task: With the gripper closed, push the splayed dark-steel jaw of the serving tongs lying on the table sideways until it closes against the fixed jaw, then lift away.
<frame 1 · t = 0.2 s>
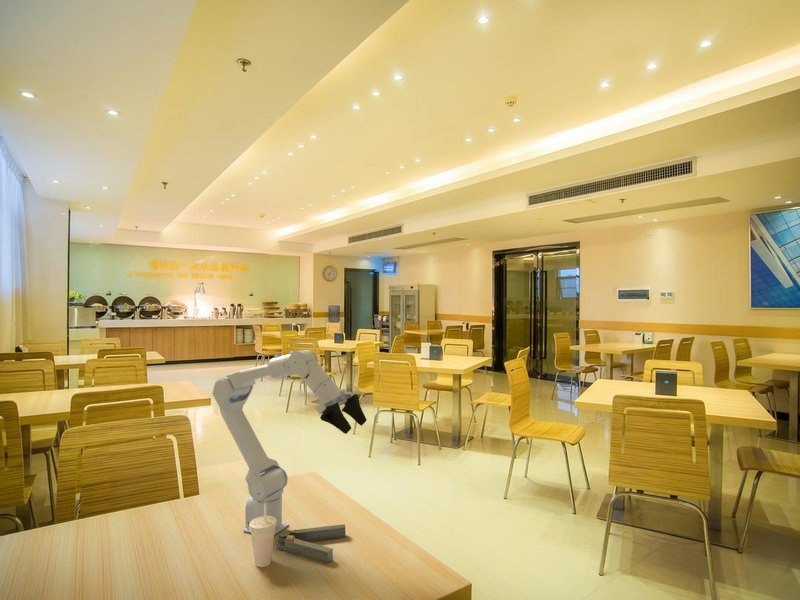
hand: (356, 427, 111), 31 cm above the table, tool tilted 45°, fingers open, 7 cm apart
tongs base: (284, 543, 114), on the table
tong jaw: (312, 534, 116), point 1 cm above the table, hinge at 38.0°
smoothie: (263, 563, 105), on the table
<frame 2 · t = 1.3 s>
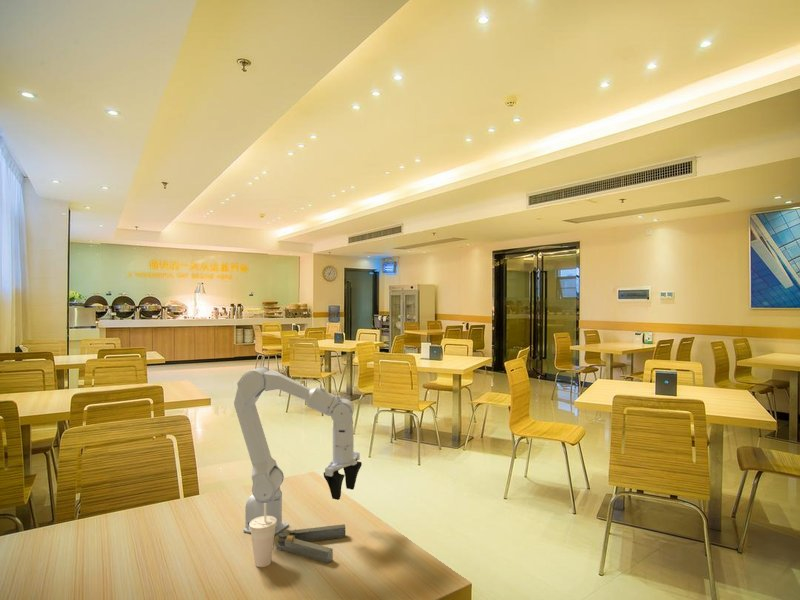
hand: (343, 493, 122), 9 cm above the table, tool pointing down, fingers open, 7 cm apart
nothing on the table moved.
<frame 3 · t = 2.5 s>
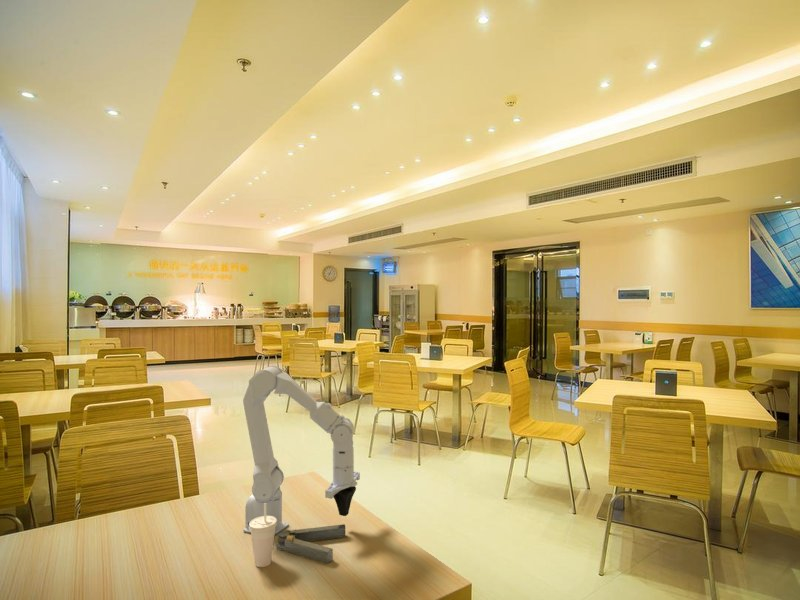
hand: (343, 514, 122), 4 cm above the table, tool pointing down, fingers closed
nothing on the table moved.
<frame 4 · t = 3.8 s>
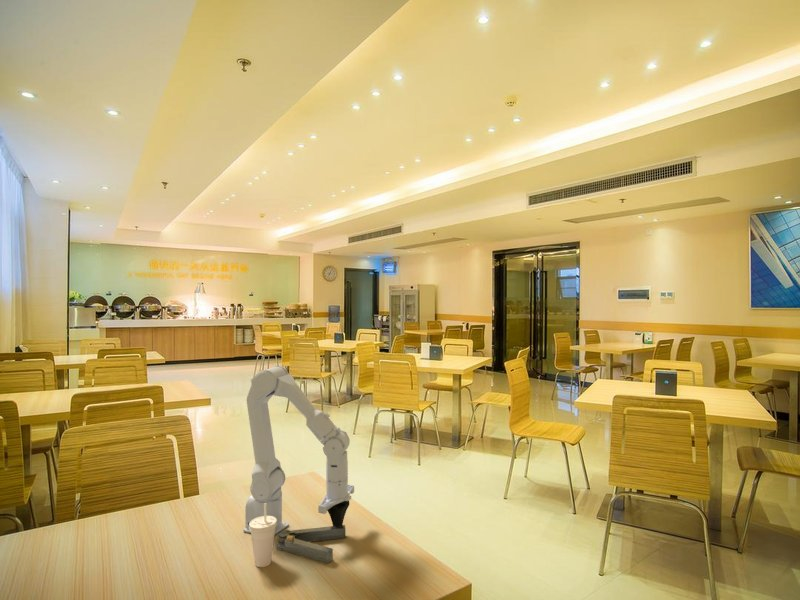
hand: (337, 529, 119), 1 cm above the table, tool pointing down, fingers closed
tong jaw: (312, 534, 115), point 2 cm above the table, hinge at 36.5°, touching gripper
everything else where it was.
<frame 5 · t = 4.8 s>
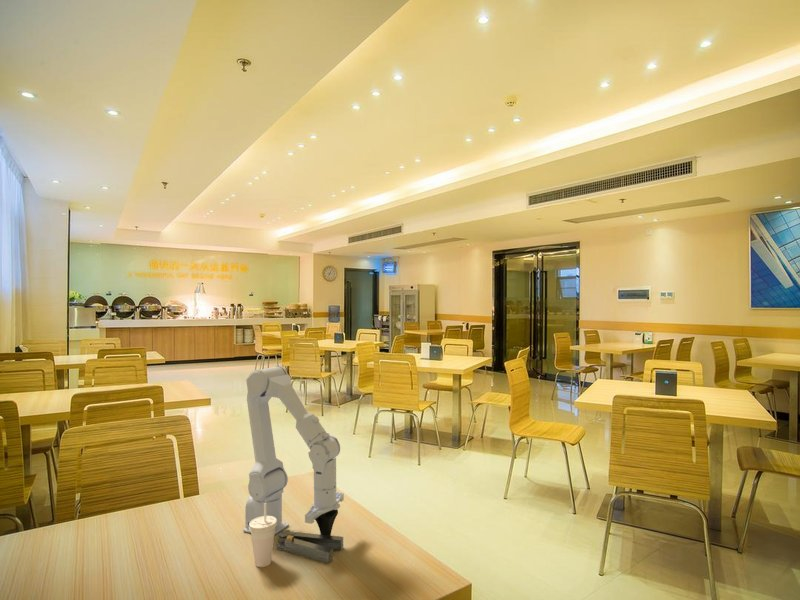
hand: (325, 539, 114), 1 cm above the table, tool pointing down, fingers closed
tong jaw: (310, 540, 113), point 2 cm above the table, hinge at 13.7°, touching gripper
everything else where it was.
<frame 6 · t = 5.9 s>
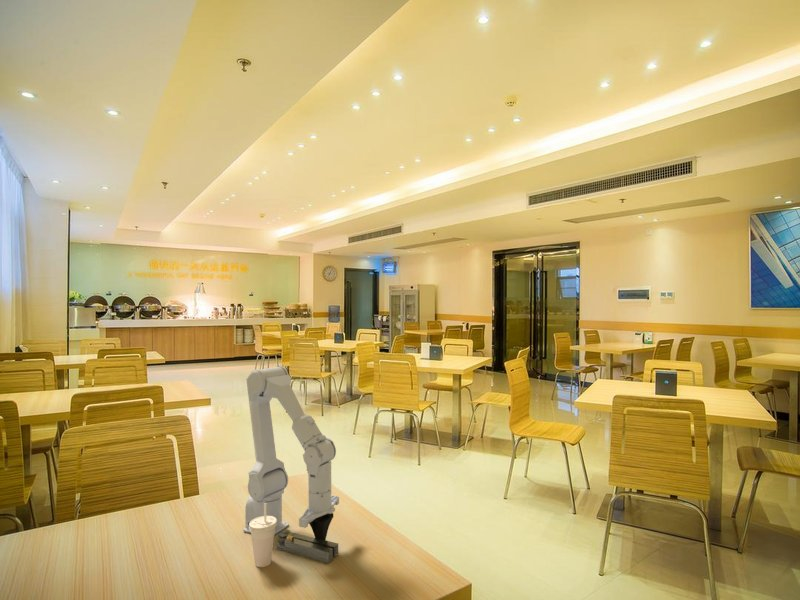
hand: (320, 543, 112), 1 cm above the table, tool pointing down, fingers closed
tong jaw: (307, 543, 111), point 2 cm above the table, hinge at 1.5°, touching gripper
everything else where it was.
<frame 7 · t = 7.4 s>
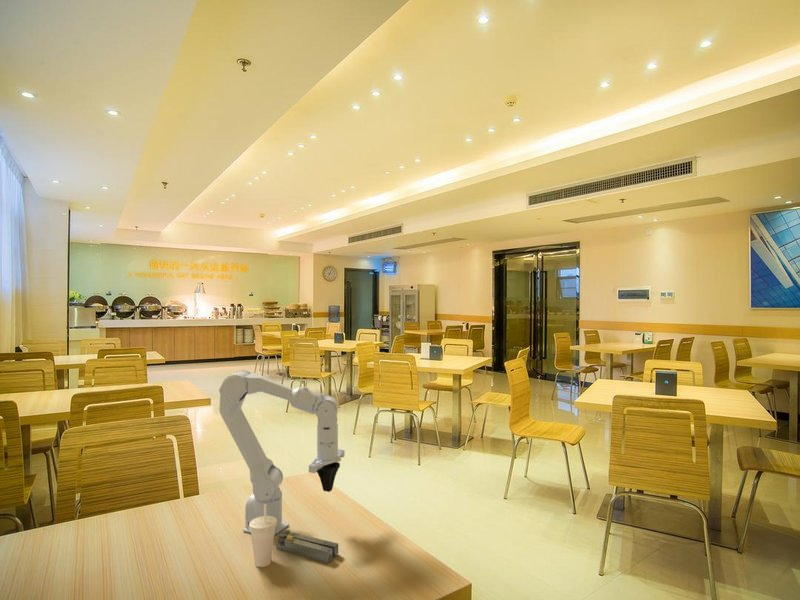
hand: (327, 490, 123), 10 cm above the table, tool pointing down, fingers closed
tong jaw: (307, 543, 111), point 1 cm above the table, hinge at 1.5°
everything else where it was.
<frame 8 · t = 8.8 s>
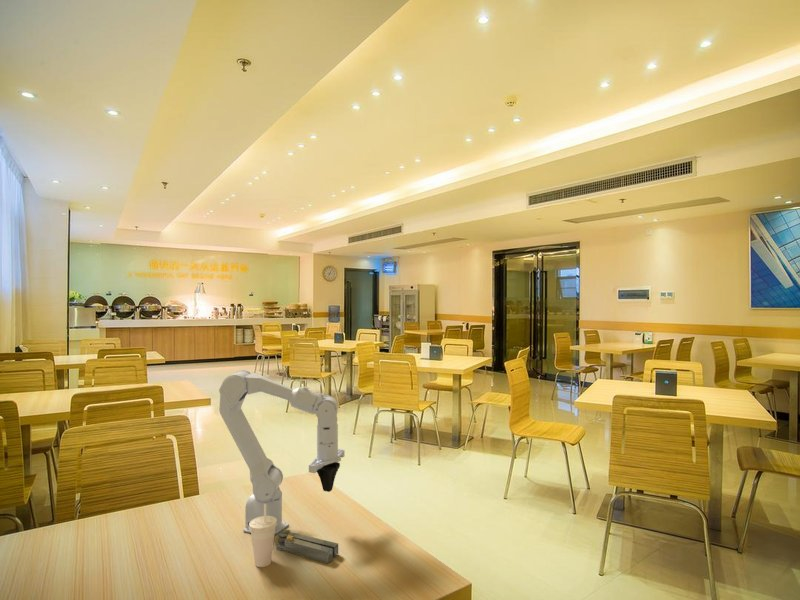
hand: (327, 490, 123), 10 cm above the table, tool pointing down, fingers closed
nothing on the table moved.
at the end: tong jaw at +2° (first picture: +38°); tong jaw touching nothing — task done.
